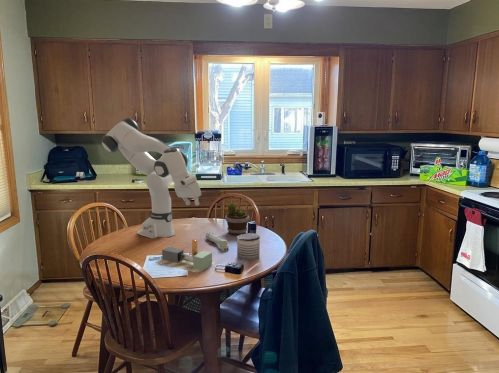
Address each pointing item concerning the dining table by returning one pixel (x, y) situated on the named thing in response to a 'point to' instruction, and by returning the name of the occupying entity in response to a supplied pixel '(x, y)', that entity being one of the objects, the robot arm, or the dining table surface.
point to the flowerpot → (236, 220)
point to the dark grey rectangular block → (171, 254)
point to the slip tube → (189, 257)
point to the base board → (181, 265)
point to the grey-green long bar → (218, 241)
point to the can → (248, 246)
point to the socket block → (202, 260)
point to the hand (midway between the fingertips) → (193, 204)
